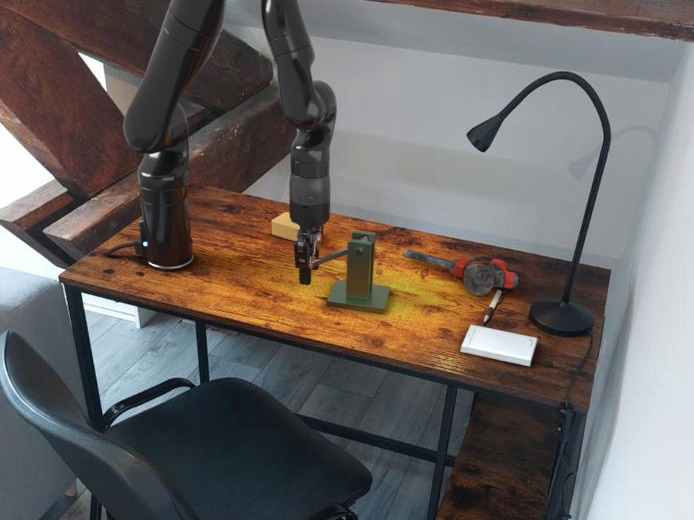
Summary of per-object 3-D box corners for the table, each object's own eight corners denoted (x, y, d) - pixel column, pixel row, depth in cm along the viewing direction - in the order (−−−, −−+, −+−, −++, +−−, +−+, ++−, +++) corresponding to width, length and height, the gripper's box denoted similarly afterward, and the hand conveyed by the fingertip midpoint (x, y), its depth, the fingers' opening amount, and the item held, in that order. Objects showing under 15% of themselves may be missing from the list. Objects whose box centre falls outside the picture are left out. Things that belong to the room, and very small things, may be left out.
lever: (305, 278, 155) (299, 267, 154) (312, 265, 159) (306, 254, 158) (368, 255, 149) (362, 243, 148) (373, 242, 154) (368, 231, 153)
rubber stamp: (322, 237, 181) (323, 186, 174) (308, 246, 176) (309, 194, 170) (285, 226, 184) (285, 176, 178) (271, 235, 180) (270, 184, 173)
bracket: (326, 306, 155) (327, 243, 148) (336, 284, 163) (338, 223, 155) (382, 313, 154) (386, 250, 146) (390, 291, 161) (394, 230, 154)
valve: (532, 285, 170) (504, 304, 158) (425, 256, 182) (391, 271, 170) (538, 256, 168) (509, 273, 156) (428, 229, 179) (394, 242, 167)
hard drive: (537, 337, 147) (471, 322, 149) (530, 360, 140) (461, 345, 143) (536, 344, 148) (470, 330, 150) (529, 368, 141) (460, 352, 144)
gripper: (300, 178, 154) (300, 258, 164) (279, 207, 143) (280, 291, 152) (338, 183, 154) (336, 262, 163) (320, 212, 142) (319, 296, 151)
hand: (309, 276), depth 157 cm, fingers closed on lever, 5 cm apart
